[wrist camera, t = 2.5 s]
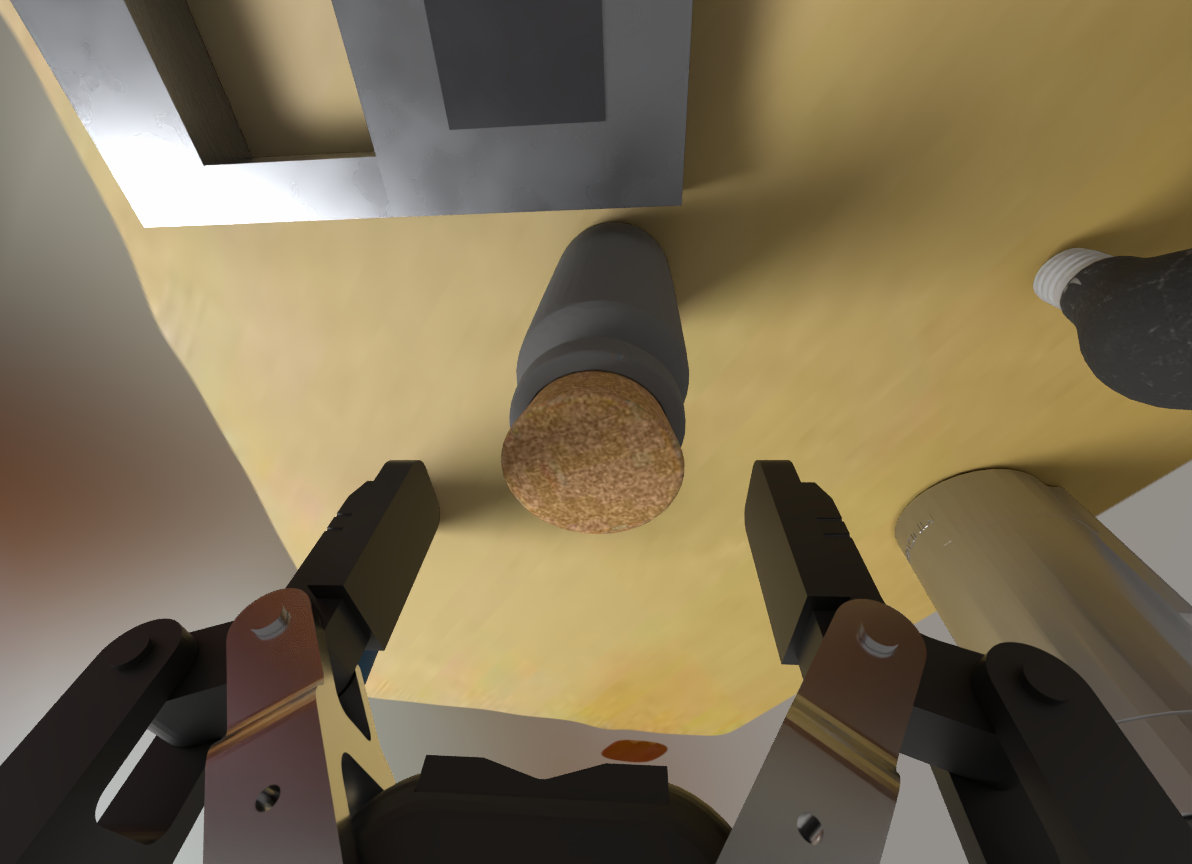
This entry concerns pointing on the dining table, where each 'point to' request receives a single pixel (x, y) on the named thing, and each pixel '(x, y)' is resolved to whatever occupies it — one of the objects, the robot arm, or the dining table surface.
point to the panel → (392, 109)
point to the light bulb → (1128, 319)
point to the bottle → (601, 388)
